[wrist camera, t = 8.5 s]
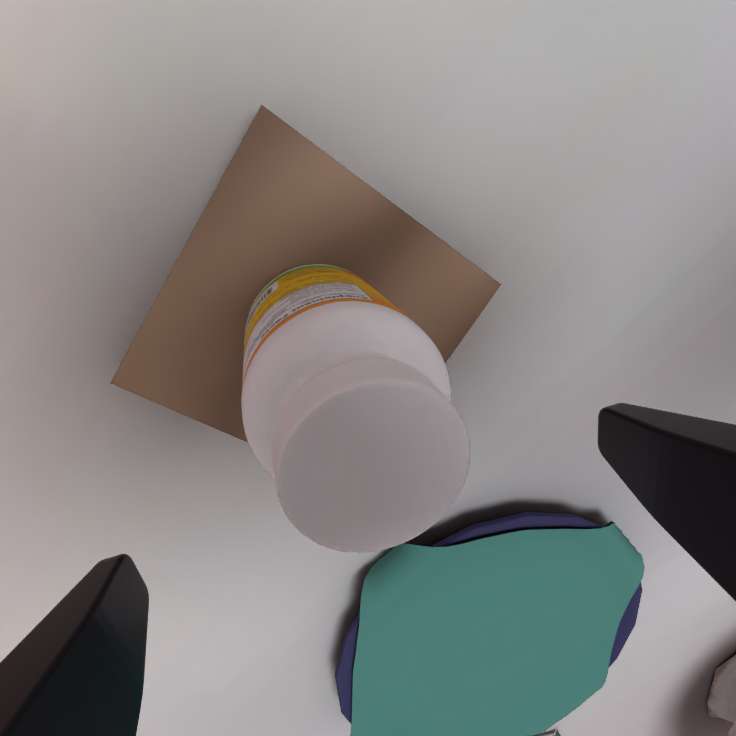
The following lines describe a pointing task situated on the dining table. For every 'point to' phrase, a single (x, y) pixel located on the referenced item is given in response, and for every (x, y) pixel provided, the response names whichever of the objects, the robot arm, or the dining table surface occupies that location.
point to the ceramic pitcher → (724, 694)
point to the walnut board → (279, 254)
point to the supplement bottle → (349, 411)
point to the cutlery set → (489, 628)
